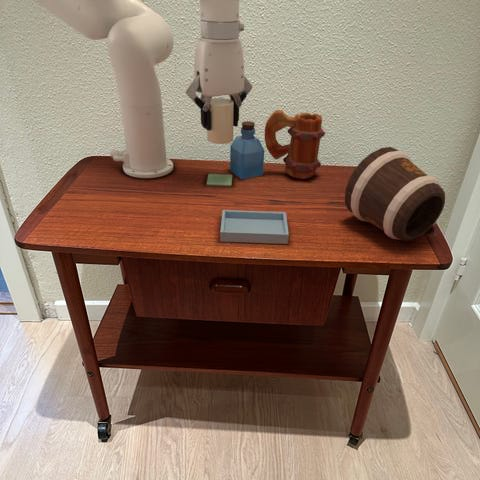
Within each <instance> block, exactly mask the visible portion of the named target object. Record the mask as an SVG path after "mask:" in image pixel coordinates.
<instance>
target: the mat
mask: <svg viewBox="0 0 480 480" xmlns="http://www.w3.org/2000/svg"><path fill="white" fill-rule="evenodd" d="M232 183H233V174H222V173H221V174H220V173H208V175H207V179H206V186H209V187H210V186H213V187H214V186H215V187H232V186H233V184H232Z"/></svg>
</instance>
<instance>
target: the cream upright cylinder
mask: <svg viewBox="0 0 480 480" xmlns="http://www.w3.org/2000/svg"><path fill="white" fill-rule="evenodd" d="M209 111H210V112H211V130H209V131H208V130H206V140H207V141H208V142H210V143H211V144H216V145H217V144H218V145H225V144H230V143H233V141H234V126H233V124H234V101H232V100H230V98H225V97H212V99H211V102H210V106H209Z"/></svg>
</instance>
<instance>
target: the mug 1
mask: <svg viewBox="0 0 480 480" xmlns="http://www.w3.org/2000/svg"><path fill="white" fill-rule="evenodd" d="M322 125H323V117H322V115H320V114H317V113H313V114H312V113H309V112H300V113H296V114H295V115H294V116H290V115H288V114H287V113H285V112H284V110H282V109H276V110H274V111H273V112H272V113H271V114H270V116H269V117H268V118H267V120H266V123H265V126H264V143H265V148H266V149H267V151H268V153H269V154H270V155H271V158H273V159H274V160H279V159H280V158H282V157H283V159H282V160H283V161H282V162H283V163H284V165H285V167H284V170H285V172H286V174H287V175H289V176H291V177H292V178H295V179H298V180H306V179H307V180H308V179H309V178H312V177H313V176H315V174H316V171H317V169H318V168H320V167H321V166H322V163H321V162H320V160H319V159H318V158H319V157H318V156H319V150H320V143H321V139H322V138H323V137H324V136H326V132H325V131H324V129H323V128H322ZM285 128H288V129H287V133H288V134H289V136H290V140H289V141H290V142H289V143H288V144H285V145H282V144H280V143H279V142H278V140H277V136H276V135H277V134H276V133H277V132H279V131H281V130H283V129H285ZM285 155H286V156H285Z"/></svg>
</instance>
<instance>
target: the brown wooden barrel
mask: <svg viewBox="0 0 480 480" xmlns="http://www.w3.org/2000/svg"><path fill="white" fill-rule="evenodd" d="M344 203H345V207H346V209H347V211H349V212H350V213H351V214H352V215H353V216H354V217H355V218H356V219H357V220H359V221H362V222H367V223H370V224H371V225H373V226H375V227H377V228H378V229H379V230H381V231H383V232H384V234H385V235H386V236H387V237H389V238H390V239H392V240H399V241H405V242H408V241H412V240H416V239H417V238H419V237H421V236H423V235H424V234H425V233H426V232H427V231H429V230H430V229H431V228H432V227H433V226H435V225H436V224H437V223H438V219H439V218H440V216H441V214H442V212H443V210H444V207H445V204H446V192H445V190H444V189H443V187H442V184H441V182H440V181H439V180H438V179H437V178H436V177H435V176H432V175H429V174H427V173H425V172H424V171H423V170H422V168H420V167H419V166H417V165H416V164H415V163H414V161H412V159H411V158H410V156H409V155H408V154H407V153H406V152H404V151H401V150H399V149H397V148H395V147H392V146H387V147H386V146H385V147H380V148H379V149H377V150H375V151H372V152H371V153H369V154H368V155H367V156H366V157H364V158H363V159H362V160H361V161H360V162H359V163H358V164H357V166H356V167H355V168H354V170H353V171H352V173H351V175H350V177H348V180H347V184H346V187H345V189H344Z"/></svg>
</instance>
